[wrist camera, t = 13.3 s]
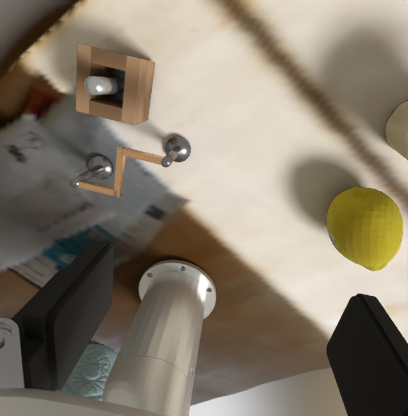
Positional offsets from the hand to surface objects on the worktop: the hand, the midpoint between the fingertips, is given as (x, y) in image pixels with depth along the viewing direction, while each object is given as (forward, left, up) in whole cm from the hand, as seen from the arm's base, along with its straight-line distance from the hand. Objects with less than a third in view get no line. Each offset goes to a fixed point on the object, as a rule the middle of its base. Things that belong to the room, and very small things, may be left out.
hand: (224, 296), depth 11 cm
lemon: (-4, -17, -27) cm, 32 cm away
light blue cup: (-46, +15, -27) cm, 56 cm away
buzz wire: (-3, +12, -27) cm, 29 cm away
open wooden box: (+4, +14, -26) cm, 30 cm away
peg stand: (+5, +14, -27) cm, 31 cm away
